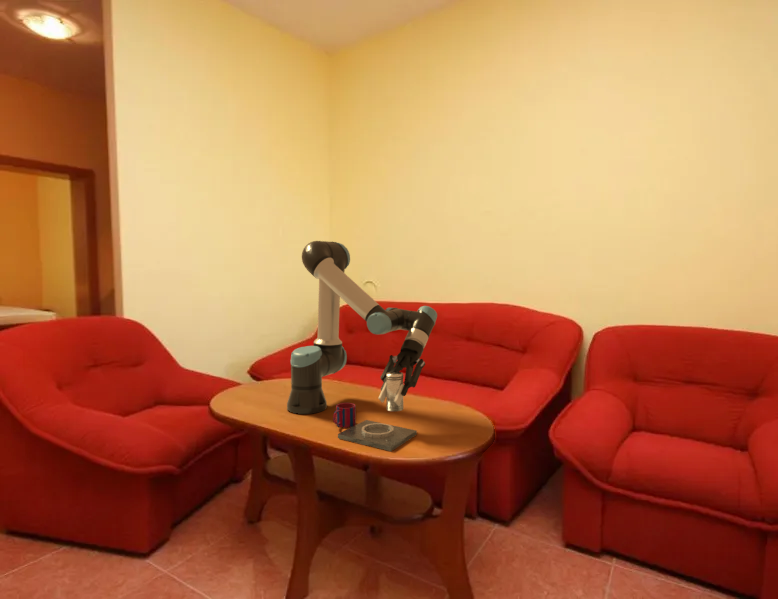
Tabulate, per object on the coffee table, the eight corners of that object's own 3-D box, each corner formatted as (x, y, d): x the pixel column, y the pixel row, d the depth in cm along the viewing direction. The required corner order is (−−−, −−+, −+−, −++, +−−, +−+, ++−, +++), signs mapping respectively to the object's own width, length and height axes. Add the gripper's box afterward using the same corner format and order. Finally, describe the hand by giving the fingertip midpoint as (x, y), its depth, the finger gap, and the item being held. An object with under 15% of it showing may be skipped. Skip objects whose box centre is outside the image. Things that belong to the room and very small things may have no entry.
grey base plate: (337, 438, 151) (337, 430, 150) (366, 424, 164) (366, 416, 164) (391, 451, 140) (391, 442, 140) (416, 435, 154) (416, 426, 153)
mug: (359, 424, 164) (359, 404, 164) (339, 432, 156) (339, 412, 156) (345, 420, 168) (345, 401, 168) (325, 427, 161) (325, 408, 160)
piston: (383, 407, 159) (383, 372, 158) (399, 405, 161) (399, 370, 160) (389, 412, 153) (389, 376, 152) (406, 410, 155) (406, 374, 154)
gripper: (441, 353, 163) (417, 412, 151) (396, 348, 174) (370, 403, 161) (433, 340, 158) (408, 400, 146) (388, 336, 169) (361, 391, 157)
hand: (388, 401), depth 154 cm, fingers closed on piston, 5 cm apart
